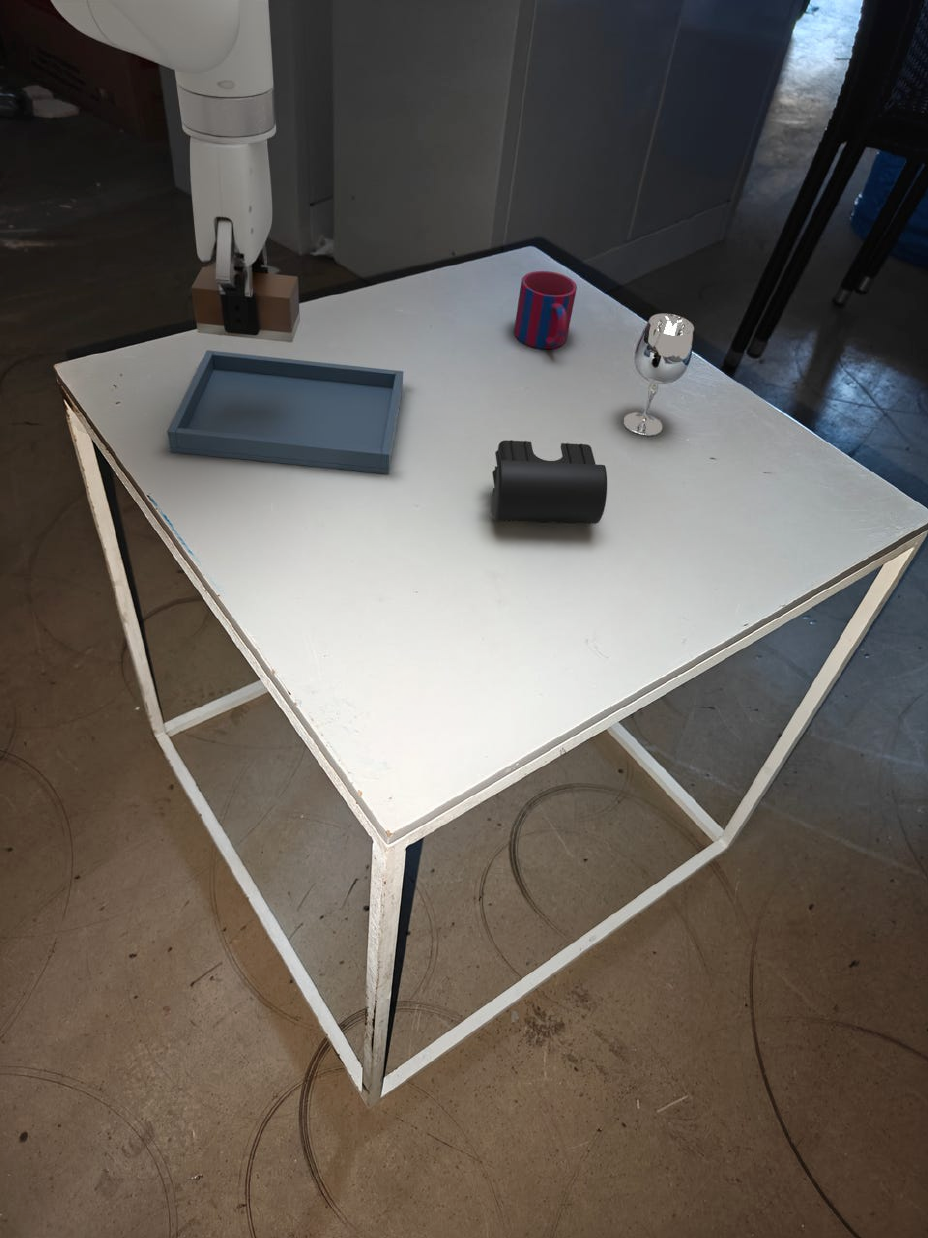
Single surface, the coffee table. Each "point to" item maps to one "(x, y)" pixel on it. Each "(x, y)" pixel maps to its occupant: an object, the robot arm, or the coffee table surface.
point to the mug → (544, 309)
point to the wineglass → (660, 363)
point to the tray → (289, 412)
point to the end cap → (548, 485)
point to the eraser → (272, 298)
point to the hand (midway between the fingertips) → (248, 317)
